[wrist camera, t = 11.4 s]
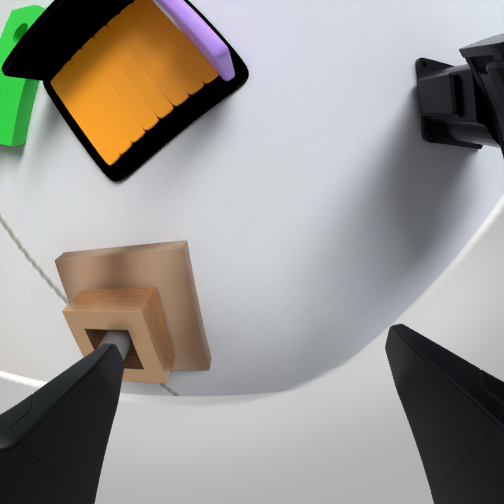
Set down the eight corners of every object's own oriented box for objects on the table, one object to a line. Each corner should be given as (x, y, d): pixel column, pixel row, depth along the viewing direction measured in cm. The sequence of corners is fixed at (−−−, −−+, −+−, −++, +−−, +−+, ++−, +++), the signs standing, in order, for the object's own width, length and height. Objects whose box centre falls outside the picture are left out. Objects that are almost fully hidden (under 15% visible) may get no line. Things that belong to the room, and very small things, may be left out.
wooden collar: (155, 287, 19) (141, 311, 16) (175, 356, 21) (167, 383, 19) (81, 289, 19) (62, 311, 16) (107, 353, 22) (95, 377, 19)
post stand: (186, 240, 20) (158, 292, 13) (211, 358, 24) (201, 422, 18) (64, 252, 20) (14, 295, 14) (103, 355, 24) (76, 407, 18)
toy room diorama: (159, -26, 12) (127, -72, 6) (257, 78, 16) (261, 47, 10) (42, 80, 15) (-17, 75, 8) (118, 188, 19) (65, 215, 12)
